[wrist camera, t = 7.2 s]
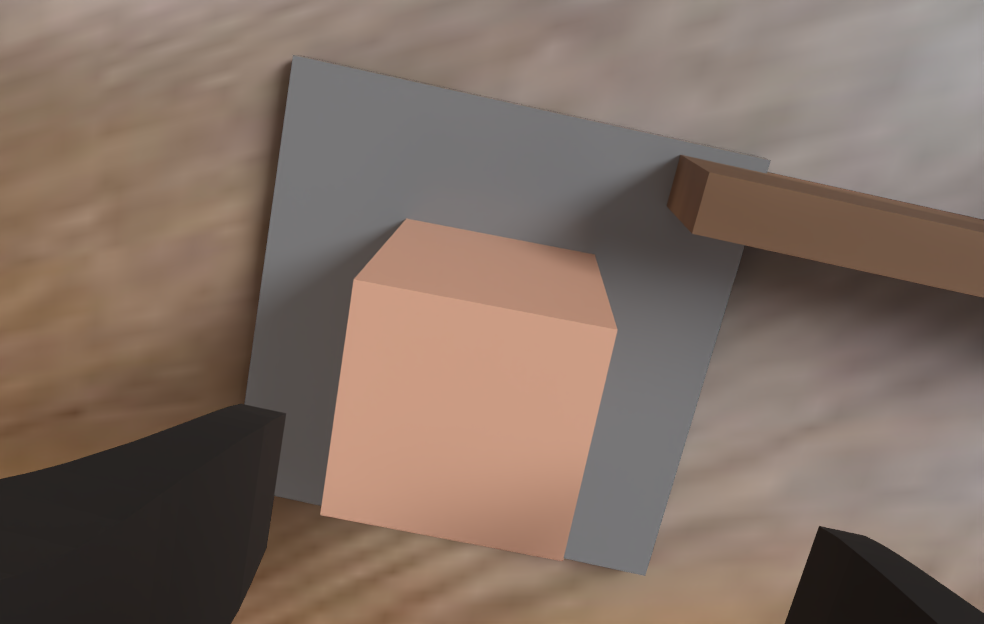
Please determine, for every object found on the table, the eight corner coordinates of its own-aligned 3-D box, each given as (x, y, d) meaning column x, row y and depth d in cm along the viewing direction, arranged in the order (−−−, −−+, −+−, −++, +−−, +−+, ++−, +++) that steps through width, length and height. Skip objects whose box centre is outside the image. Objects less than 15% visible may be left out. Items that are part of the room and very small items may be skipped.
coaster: (642, 562, 23) (644, 575, 22) (240, 475, 23) (233, 486, 22) (763, 157, 20) (770, 160, 19) (299, 55, 20) (293, 54, 19)
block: (556, 427, 21) (562, 561, 16) (378, 394, 21) (320, 515, 16) (594, 254, 20) (617, 329, 14) (406, 218, 20) (354, 279, 14)
